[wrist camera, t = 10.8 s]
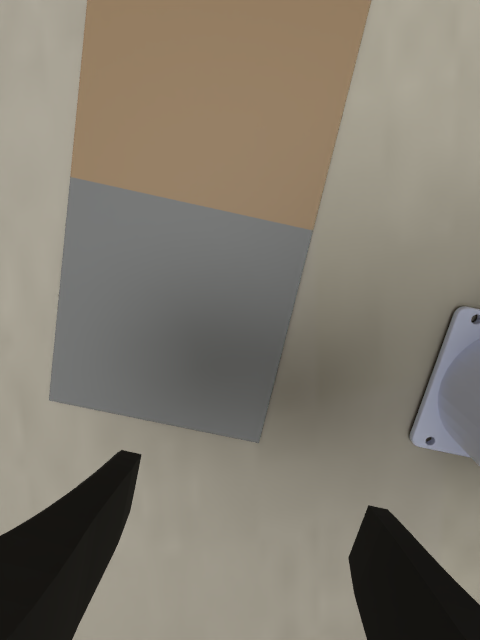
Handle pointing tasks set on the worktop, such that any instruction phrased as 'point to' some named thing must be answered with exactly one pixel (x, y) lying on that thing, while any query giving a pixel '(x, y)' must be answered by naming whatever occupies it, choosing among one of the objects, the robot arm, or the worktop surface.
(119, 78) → the tricolour rectangular mat
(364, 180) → the worktop surface
